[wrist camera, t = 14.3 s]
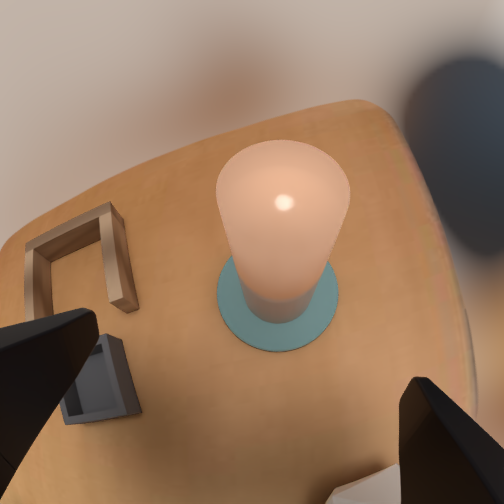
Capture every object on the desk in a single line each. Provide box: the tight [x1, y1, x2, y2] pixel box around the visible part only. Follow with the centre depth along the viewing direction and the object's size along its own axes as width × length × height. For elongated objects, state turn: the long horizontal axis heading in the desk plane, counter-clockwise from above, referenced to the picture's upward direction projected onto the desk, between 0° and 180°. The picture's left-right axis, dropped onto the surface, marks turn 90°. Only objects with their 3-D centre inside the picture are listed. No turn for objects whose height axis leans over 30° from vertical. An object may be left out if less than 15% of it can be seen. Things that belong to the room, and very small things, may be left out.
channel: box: [24, 201, 139, 322], centre depth 22 cm, size 9×10×3 cm
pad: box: [217, 256, 338, 352], centre depth 22 cm, size 9×9×1 cm
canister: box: [216, 140, 350, 324], centre depth 16 cm, size 5×5×12 cm
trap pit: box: [60, 334, 142, 425], centre depth 18 cm, size 6×6×2 cm
